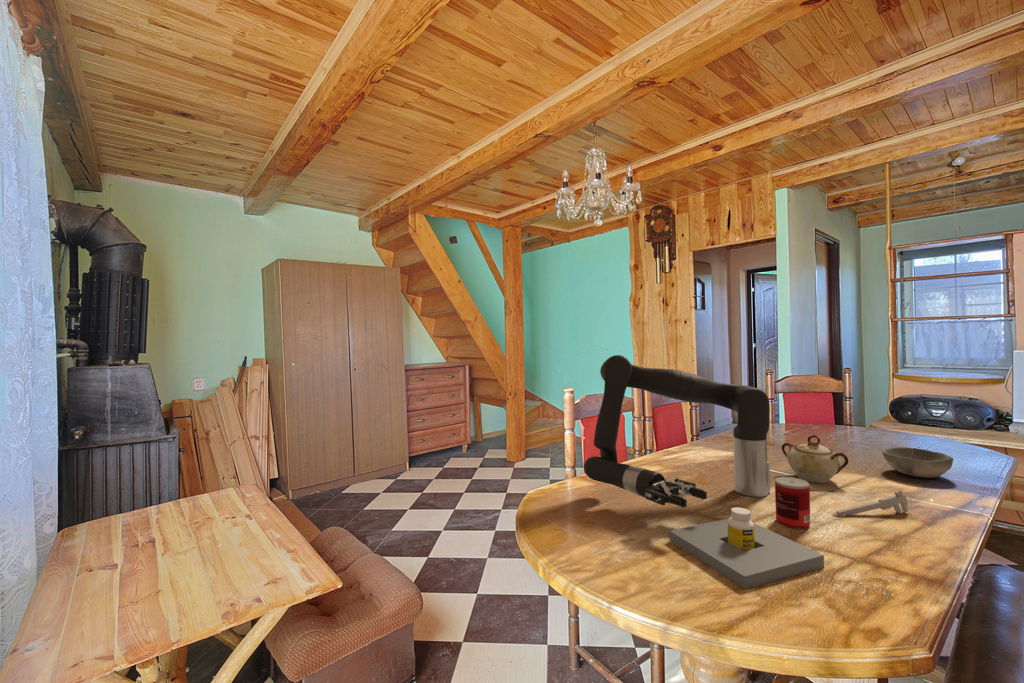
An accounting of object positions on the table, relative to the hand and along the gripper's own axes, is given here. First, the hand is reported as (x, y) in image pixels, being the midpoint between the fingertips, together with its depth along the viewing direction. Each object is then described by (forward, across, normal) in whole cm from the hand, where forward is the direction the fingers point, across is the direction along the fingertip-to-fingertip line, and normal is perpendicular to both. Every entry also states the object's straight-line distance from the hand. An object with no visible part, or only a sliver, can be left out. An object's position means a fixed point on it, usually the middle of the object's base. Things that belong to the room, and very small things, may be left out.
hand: (696, 499), depth 109 cm
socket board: (+11, 0, +9) cm, 14 cm away
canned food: (+11, +26, +9) cm, 30 cm away
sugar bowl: (0, +68, +9) cm, 69 cm away
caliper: (+21, +48, +10) cm, 53 cm away
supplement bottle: (+11, 0, +9) cm, 14 cm away
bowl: (+19, +98, +10) cm, 101 cm away
